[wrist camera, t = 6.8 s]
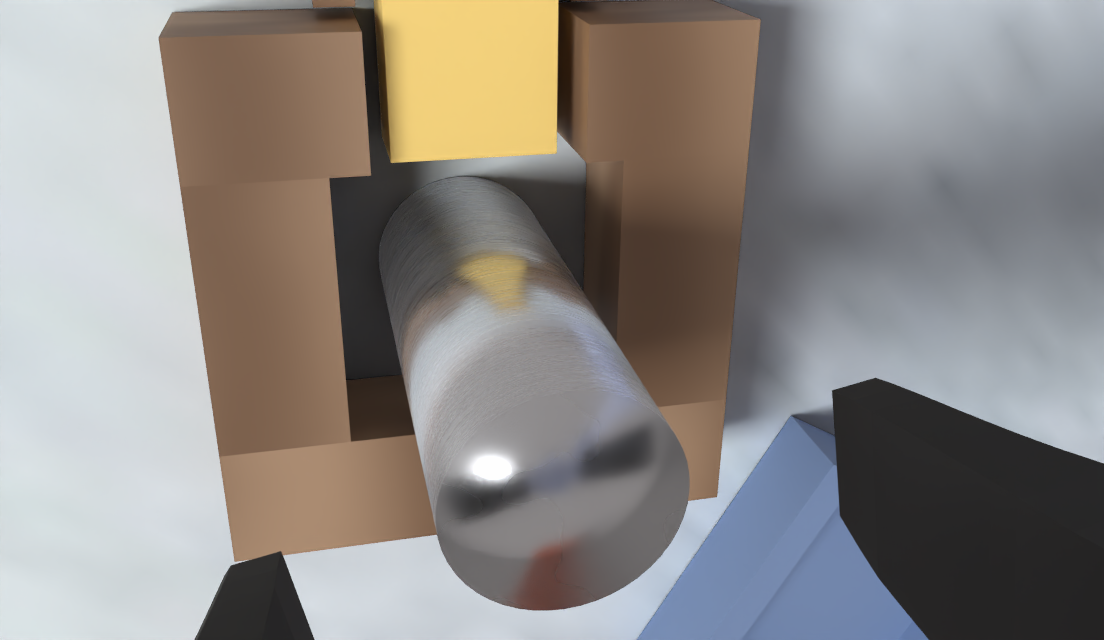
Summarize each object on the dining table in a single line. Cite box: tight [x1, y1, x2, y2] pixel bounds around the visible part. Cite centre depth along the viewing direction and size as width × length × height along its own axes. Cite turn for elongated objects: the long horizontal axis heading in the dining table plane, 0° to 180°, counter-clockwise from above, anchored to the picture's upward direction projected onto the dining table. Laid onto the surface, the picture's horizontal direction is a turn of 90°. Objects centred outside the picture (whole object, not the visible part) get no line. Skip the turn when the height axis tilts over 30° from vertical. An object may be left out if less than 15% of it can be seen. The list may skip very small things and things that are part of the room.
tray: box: [637, 416, 929, 640], centre depth 27 cm, size 8×8×2 cm
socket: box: [159, 0, 761, 562], centre depth 19 cm, size 10×15×2 cm, turn 179°
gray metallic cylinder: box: [379, 177, 690, 610], centre depth 18 cm, size 3×3×9 cm
